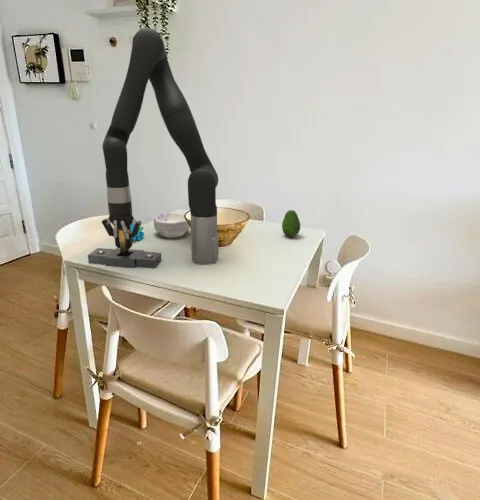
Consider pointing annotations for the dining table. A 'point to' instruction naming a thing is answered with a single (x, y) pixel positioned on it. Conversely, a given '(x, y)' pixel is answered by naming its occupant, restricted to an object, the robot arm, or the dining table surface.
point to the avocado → (291, 224)
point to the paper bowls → (171, 224)
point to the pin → (122, 241)
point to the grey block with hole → (125, 258)
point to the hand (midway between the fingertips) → (124, 247)
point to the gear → (138, 233)
